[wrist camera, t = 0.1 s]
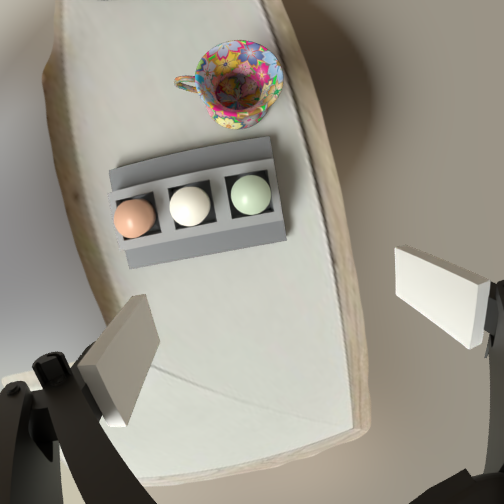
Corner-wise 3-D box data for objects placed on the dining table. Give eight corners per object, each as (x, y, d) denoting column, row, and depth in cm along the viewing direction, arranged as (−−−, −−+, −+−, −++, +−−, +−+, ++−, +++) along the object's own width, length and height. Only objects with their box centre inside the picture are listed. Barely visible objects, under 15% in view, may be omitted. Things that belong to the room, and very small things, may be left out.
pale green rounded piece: (228, 179, 36) (228, 178, 33) (264, 173, 36) (267, 172, 33) (234, 214, 37) (234, 217, 34) (269, 208, 37) (274, 211, 34)
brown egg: (120, 202, 36) (110, 204, 32) (152, 195, 36) (144, 196, 32) (127, 236, 37) (118, 241, 33) (159, 229, 37) (152, 234, 33)
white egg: (172, 190, 36) (166, 191, 32) (207, 183, 36) (204, 183, 33) (178, 225, 37) (173, 229, 33) (213, 218, 37) (211, 222, 34)
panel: (113, 170, 39) (99, 169, 34) (267, 138, 39) (272, 132, 34) (133, 265, 42) (122, 275, 37) (284, 237, 43) (291, 244, 38)
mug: (272, 75, 37) (285, 44, 27) (268, 135, 39) (281, 120, 29) (187, 70, 36) (175, 38, 26) (180, 131, 38) (164, 114, 28)
